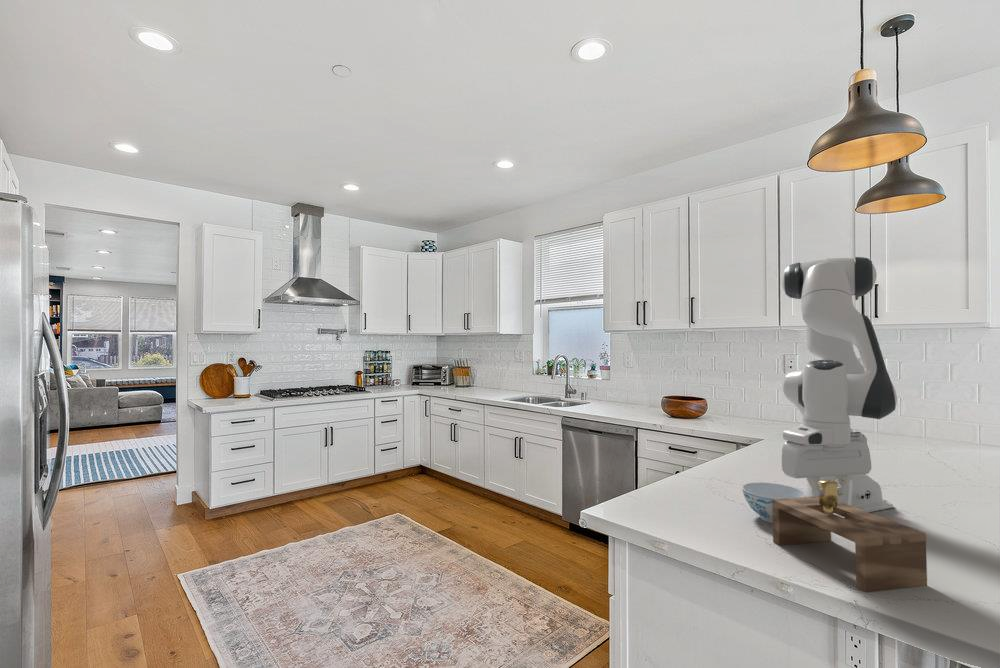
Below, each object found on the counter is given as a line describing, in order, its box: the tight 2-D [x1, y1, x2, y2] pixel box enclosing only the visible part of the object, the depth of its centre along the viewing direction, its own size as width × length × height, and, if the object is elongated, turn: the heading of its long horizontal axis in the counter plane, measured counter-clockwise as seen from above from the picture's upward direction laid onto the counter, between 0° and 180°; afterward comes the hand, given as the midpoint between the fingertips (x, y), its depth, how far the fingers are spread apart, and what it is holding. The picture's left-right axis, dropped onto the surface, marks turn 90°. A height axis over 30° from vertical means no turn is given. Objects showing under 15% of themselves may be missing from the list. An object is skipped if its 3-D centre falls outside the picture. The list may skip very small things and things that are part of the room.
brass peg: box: [816, 479, 838, 531], centre depth 109 cm, size 5×5×10 cm
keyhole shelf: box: [772, 496, 928, 593], centre depth 105 cm, size 24×14×10 cm, turn 10°
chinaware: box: [741, 482, 806, 524], centre depth 130 cm, size 15×15×8 cm
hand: (827, 495), depth 109 cm, fingers closed on brass peg, 4 cm apart
